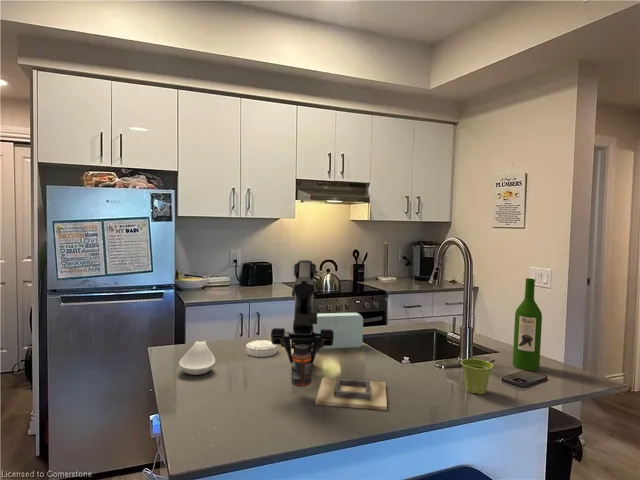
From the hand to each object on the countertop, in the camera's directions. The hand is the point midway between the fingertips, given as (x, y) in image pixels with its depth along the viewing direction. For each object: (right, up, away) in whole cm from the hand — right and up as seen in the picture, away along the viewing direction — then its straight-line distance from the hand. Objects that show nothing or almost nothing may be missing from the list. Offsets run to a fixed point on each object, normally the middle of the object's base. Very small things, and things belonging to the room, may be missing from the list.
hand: (301, 363), depth 125 cm
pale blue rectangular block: (+11, -8, +52) cm, 54 cm away
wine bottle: (+81, -11, +33) cm, 88 cm away
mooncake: (-17, -8, +42) cm, 46 cm away
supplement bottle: (0, -7, +2) cm, 7 cm away
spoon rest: (-37, -9, +25) cm, 45 cm away
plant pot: (+54, -12, +9) cm, 56 cm away
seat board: (+15, -11, +4) cm, 19 cm away
